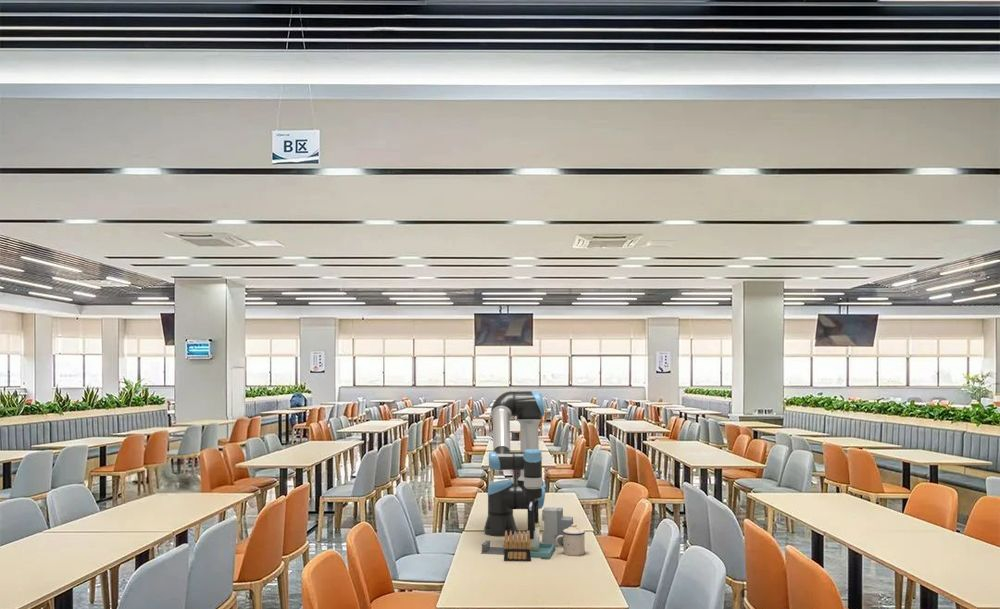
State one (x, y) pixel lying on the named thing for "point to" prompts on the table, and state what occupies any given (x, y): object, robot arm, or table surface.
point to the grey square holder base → (492, 549)
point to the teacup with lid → (573, 541)
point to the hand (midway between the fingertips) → (533, 545)
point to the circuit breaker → (554, 525)
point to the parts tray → (543, 551)
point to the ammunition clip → (522, 549)
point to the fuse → (536, 537)
